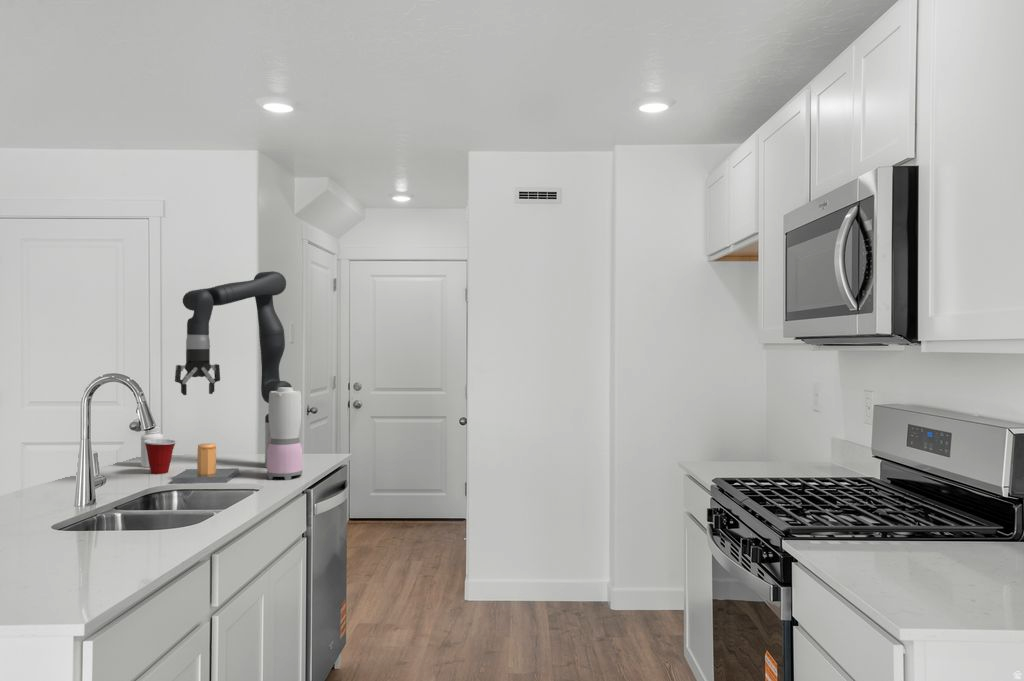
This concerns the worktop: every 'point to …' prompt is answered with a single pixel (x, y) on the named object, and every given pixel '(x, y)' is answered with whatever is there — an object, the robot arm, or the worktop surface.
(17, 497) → the worktop surface
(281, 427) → the blender
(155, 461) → the plastic cup
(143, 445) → the pill bottle
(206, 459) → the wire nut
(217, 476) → the plate
